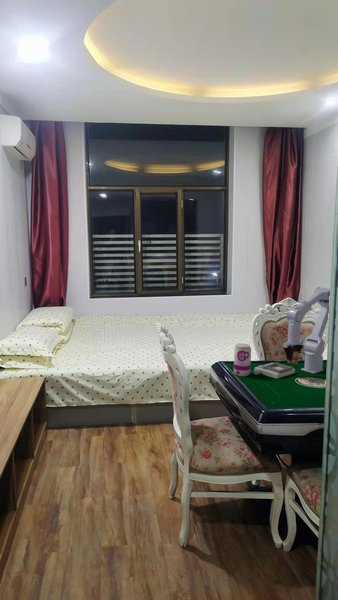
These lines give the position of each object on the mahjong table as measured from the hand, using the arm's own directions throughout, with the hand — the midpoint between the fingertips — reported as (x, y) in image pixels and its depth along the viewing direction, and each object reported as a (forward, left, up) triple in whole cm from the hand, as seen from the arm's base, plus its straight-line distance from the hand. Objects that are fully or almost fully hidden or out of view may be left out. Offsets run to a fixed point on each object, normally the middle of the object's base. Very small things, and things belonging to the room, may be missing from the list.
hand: (292, 359), depth 211 cm
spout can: (0, 0, -2) cm, 2 cm away
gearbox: (+4, -9, -8) cm, 13 cm away
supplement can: (+18, -17, -9) cm, 26 cm away
